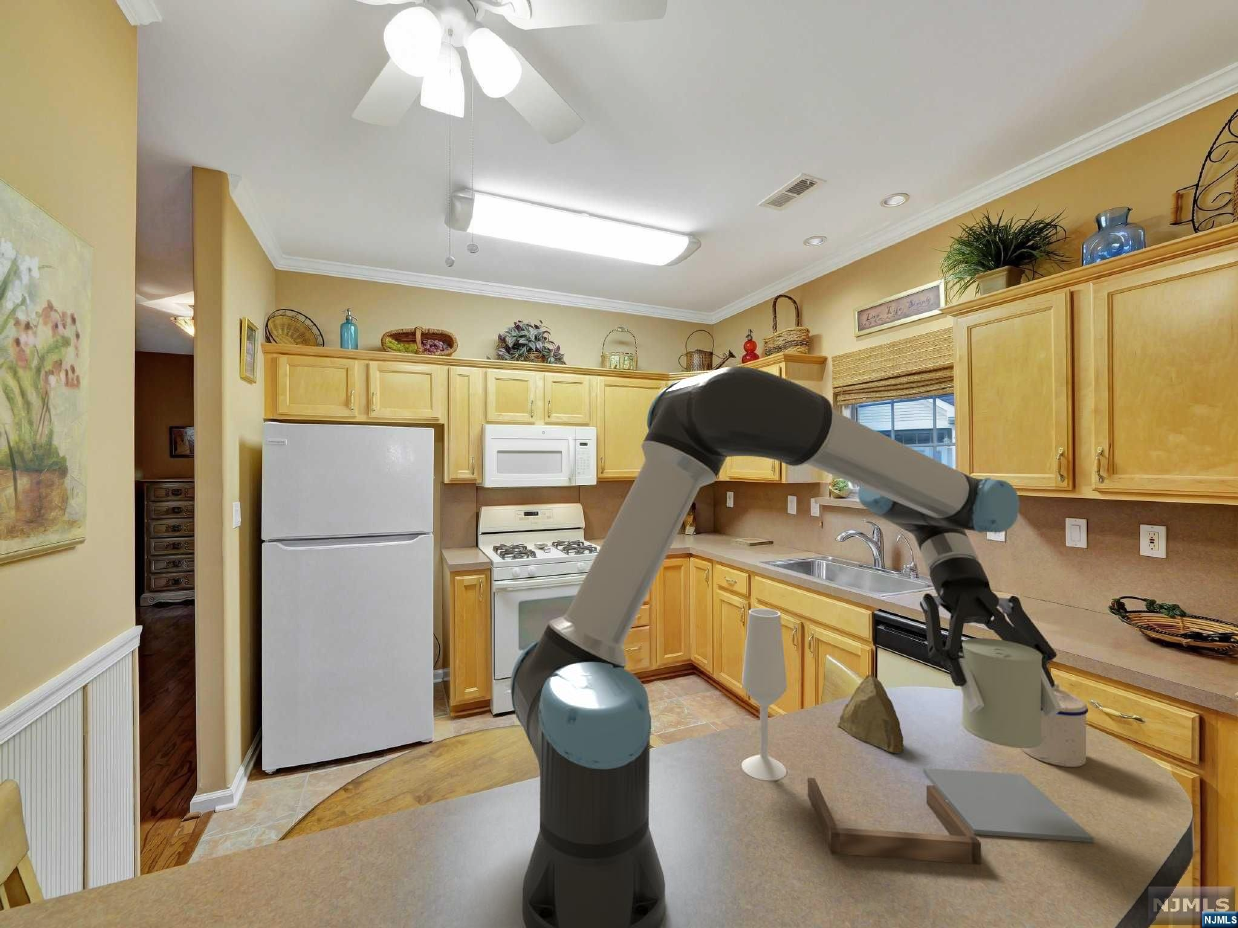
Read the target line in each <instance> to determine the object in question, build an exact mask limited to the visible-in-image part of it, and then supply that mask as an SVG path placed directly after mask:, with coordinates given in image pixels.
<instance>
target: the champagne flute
mask: <svg viewBox="0 0 1238 928" xmlns="http://www.w3.org/2000/svg"><path fill="white" fill-rule="evenodd" d="M747 616H748V617H747V624H746V625H747V626H746V636H745V645H744V655H743V656H744V657H743V665H742V666H743V667H742V676H741V685H742V687H743V688H744V690H745V692H746V693H747V695H748V696H749V698H751V699H752V700H753V701H754V702H755V703H756V704H757V705H758V706H759V754H756V755H753V756H750V757H748V758H746V759H744V760H743V761H742V763H741V768H742V770H743V771H744V772H745V774H747V775H749V776H750V777H752V778H754V779H757V780H762V781H768V782H769V781H771V782H772V781H778V780H781V779H783V778H784V777H785V776H786V775H787V768H786V767H785V766H784V765H783V763H781V762H780V761H778V760H776V759H775V758H773V757H772V756H770V755H768V754H769V752H768V750H769V748H768V747H769V742H768V741H769V734H768V733H769V732H768V731H769V706H772V705H773V704H774V703H776V702H778V700H780V699H781V698H782V697H783V695H784V694H785V693H786V691H787V687H788V684H787V683H788V682H787V672H786V661H785V659H786V658H785V650H784V638H783V637H784V636H783V628H782V627H783V626H782V615H781V612H780V611H778V610H776V609H772V608H762V607H761V608H759V607H758V608H752V609H750V610H748V615H747Z"/></svg>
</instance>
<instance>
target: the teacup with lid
mask: <svg viewBox="0 0 1238 928" xmlns="http://www.w3.org/2000/svg"><path fill="white" fill-rule="evenodd" d="M1054 682H1055V686H1054V687H1053V688H1052V689H1053V691H1054V693H1055V695H1056V697H1057V699H1058V701H1059V703H1060V706H1061V708H1062V710H1061V711H1059V712H1058V713H1057V714H1055V715H1054V716H1053V717H1046V716H1045V713H1044V711H1043V709H1042V707H1041V734H1042V738H1043V742H1042V744H1041V745H1040V746H1038V747H1034V748H1020V749H1021V750H1022V751H1023V752H1024V753H1026V754H1027V755H1028V756H1030V757H1031V758H1034V759H1036V760H1039V761H1042V762H1044V763H1047V764H1050V765H1054V766H1059V767H1066V768H1079V767H1081V766H1083V765H1085V764H1086V760H1087V714H1088V712H1089V708H1088V706H1087V704H1086V703H1085V701H1083V700H1082V699H1081V698H1079V697H1077V696H1076V695H1073V694H1071V693H1069V692H1067V691H1066V690H1064V689H1062V688H1060V684H1059V682H1057V681H1054Z"/></svg>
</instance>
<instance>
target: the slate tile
mask: <svg viewBox="0 0 1238 928" xmlns="http://www.w3.org/2000/svg"><path fill="white" fill-rule="evenodd" d="M922 772H923V774H924V775H925V776H926V778H927V779H928V780H929V781H930V782H931V784H932V785H934V786H935V787H936V788H937V790H938V791H939V792H940V793H941V794H942V796H943V797H944V798H945V799H946V800H947V801H948V803H949V804H950V805H951V807H952V808H953V809H954V810H955V812H956V813H957V814H958V815H959V817H960V818H961V819H962V820H963V821H964V823H965V824H966V825H967V826H968V828H969V829H970V830H971V831H972V832H973V834H974V835H982V836H984V835H985V836H998V837H1010V838H1011V837H1012V838H1013V837H1014V838H1025V839H1026V838H1027V839H1041V840H1053V841H1054V840H1057V841H1067V842H1068V841H1069V842H1070V841H1072V842H1081V843H1082V842H1083V843H1085V842H1086V843H1093V842H1094V836H1093V835H1091V834H1090V833H1089V832H1087V831H1086V830H1085V829H1084V828H1083V827H1082V826H1081V825H1080V824H1079V823H1078V822H1076V821H1075V820H1074V819H1073V818H1072V817H1070V816H1069V814H1068V813H1066V811H1064V810H1062V808H1060V806H1058V805H1057V804H1056V803H1055V802H1054V801H1052V800H1051V799H1050V798H1049V797H1048V796H1047V795H1046V794H1045V793H1044V792H1042V791H1041V789H1040V788H1038V787H1037V786H1036V785H1035V784H1033V783H1032V782H1031V781H1030V780H1029V779H1028V778H1027V777H1025V776H1024V774H1022V773H1015V772H1013V773H1012V772H1009V773H1008V772H996V771H995V772H994V771H979V770H978V771H976V770H962V769H961V770H959V769H942V768H928V767H927V768H924V767H923V768H922Z"/></svg>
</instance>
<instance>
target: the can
mask: <svg viewBox="0 0 1238 928" xmlns="http://www.w3.org/2000/svg"><path fill="white" fill-rule="evenodd" d="M961 646H962V658H965V659H966V661H967V664H968V666H969V668H970V671H971V673H972V676H973V678H974V681H975V683H976V686H977V688H978V691H979V694H980V696H981V699H982V701H983V704H984V706H983V707H982V708H981V709H980V710H979V711H978V712H977V713H970V711H969V708H968V706H967V703H966V700H965V698H964V695H963V694H962V717H961V719H960V720H961V725H962V728H964V730H966V731H967V732H968V733H970V734H971V735H973V736H974V737H977V738H979V739H981V740H984V741H986V742H989V743H992V744H995V745H999V746H1003V747H1009V748H1015V749H1021V748H1034V747H1038V746H1040V745H1041V744H1042V742H1043V738H1042V734H1041V665H1042V654H1041V653H1040V652H1038V651H1037V650H1035V649H1033V648H1030V647H1028V646H1025V645H1021V644H1018V643H1014V642H1009V641H1004V640H1002V639H996V638H985V637H984V638H983V637H980V638H979V637H978V638H977V637H974V638H967V639H964V640H963V641H961Z"/></svg>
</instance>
